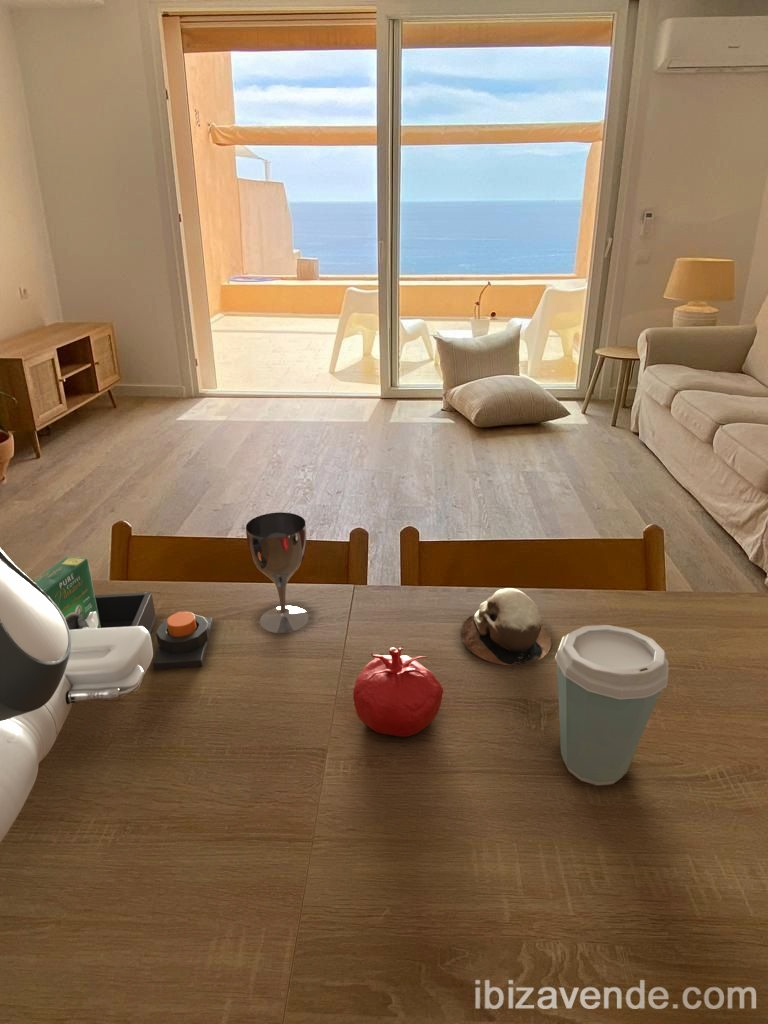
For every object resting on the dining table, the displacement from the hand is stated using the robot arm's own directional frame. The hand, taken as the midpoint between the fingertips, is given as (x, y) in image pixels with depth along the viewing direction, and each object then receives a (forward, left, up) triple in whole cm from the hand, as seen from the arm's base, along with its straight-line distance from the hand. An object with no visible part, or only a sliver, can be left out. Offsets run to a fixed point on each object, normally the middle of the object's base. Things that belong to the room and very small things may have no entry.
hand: (67, 618), depth 74 cm
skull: (+51, +11, -14) cm, 54 cm away
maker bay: (-2, +14, -14) cm, 20 cm away
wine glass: (+21, +19, -14) cm, 32 cm away
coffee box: (0, -1, -7) cm, 7 cm away
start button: (+8, +14, -12) cm, 20 cm away
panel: (+8, +14, -14) cm, 21 cm away
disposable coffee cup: (+55, -12, -14) cm, 58 cm away
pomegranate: (+35, -3, -14) cm, 38 cm away
